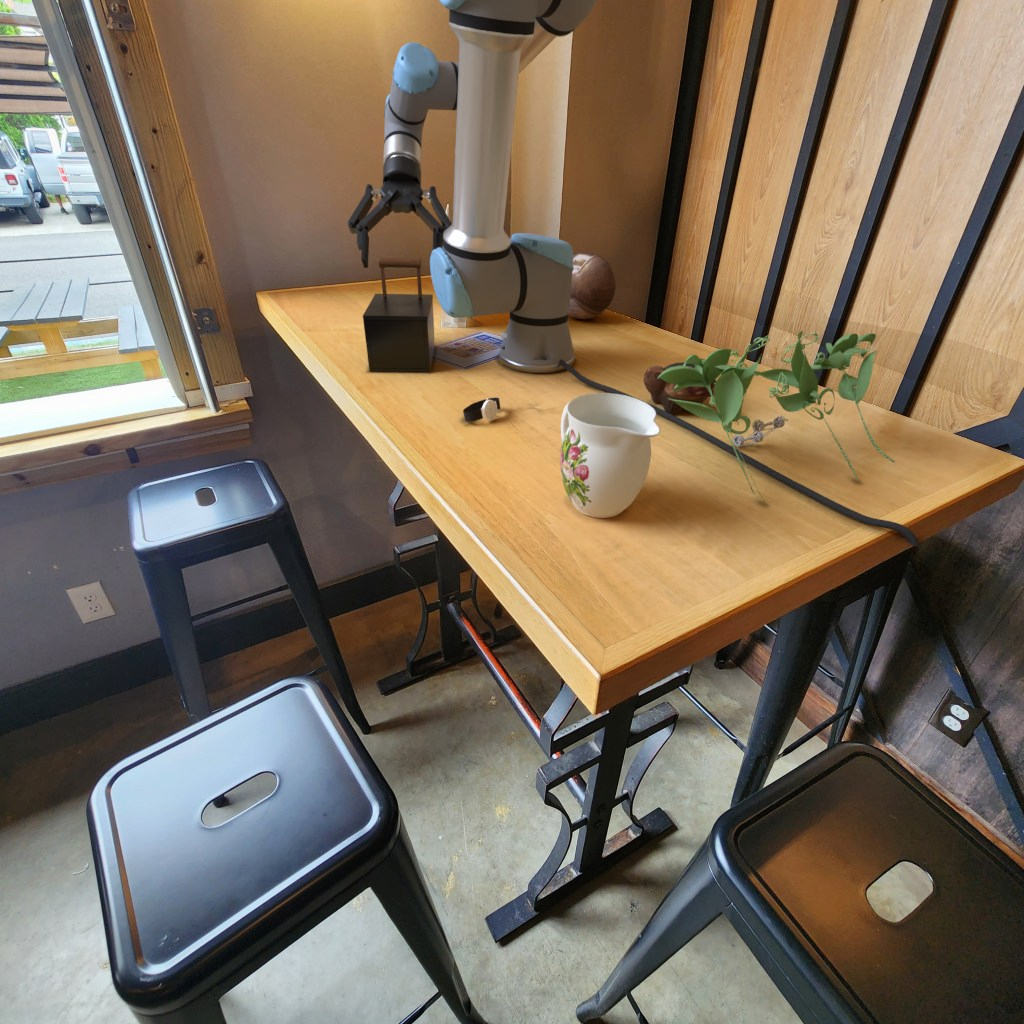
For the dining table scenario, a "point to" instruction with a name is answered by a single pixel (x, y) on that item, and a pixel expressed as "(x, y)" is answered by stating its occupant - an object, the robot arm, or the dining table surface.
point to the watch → (482, 410)
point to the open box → (400, 344)
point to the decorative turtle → (665, 390)
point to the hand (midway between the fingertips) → (400, 264)
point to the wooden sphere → (590, 286)
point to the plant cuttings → (802, 376)
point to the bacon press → (399, 296)
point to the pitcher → (605, 451)
